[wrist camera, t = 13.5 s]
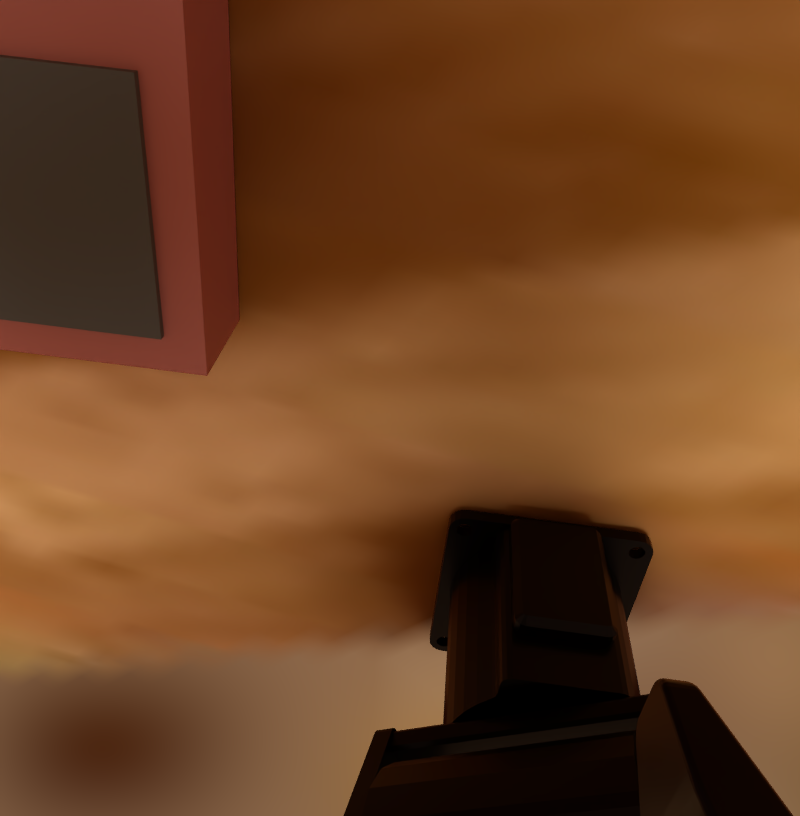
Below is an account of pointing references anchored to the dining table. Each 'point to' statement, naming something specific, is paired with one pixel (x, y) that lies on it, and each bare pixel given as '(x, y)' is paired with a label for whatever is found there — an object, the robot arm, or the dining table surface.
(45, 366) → the dining table surface
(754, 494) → the dining table surface
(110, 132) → the pink control box
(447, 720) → the robot arm
